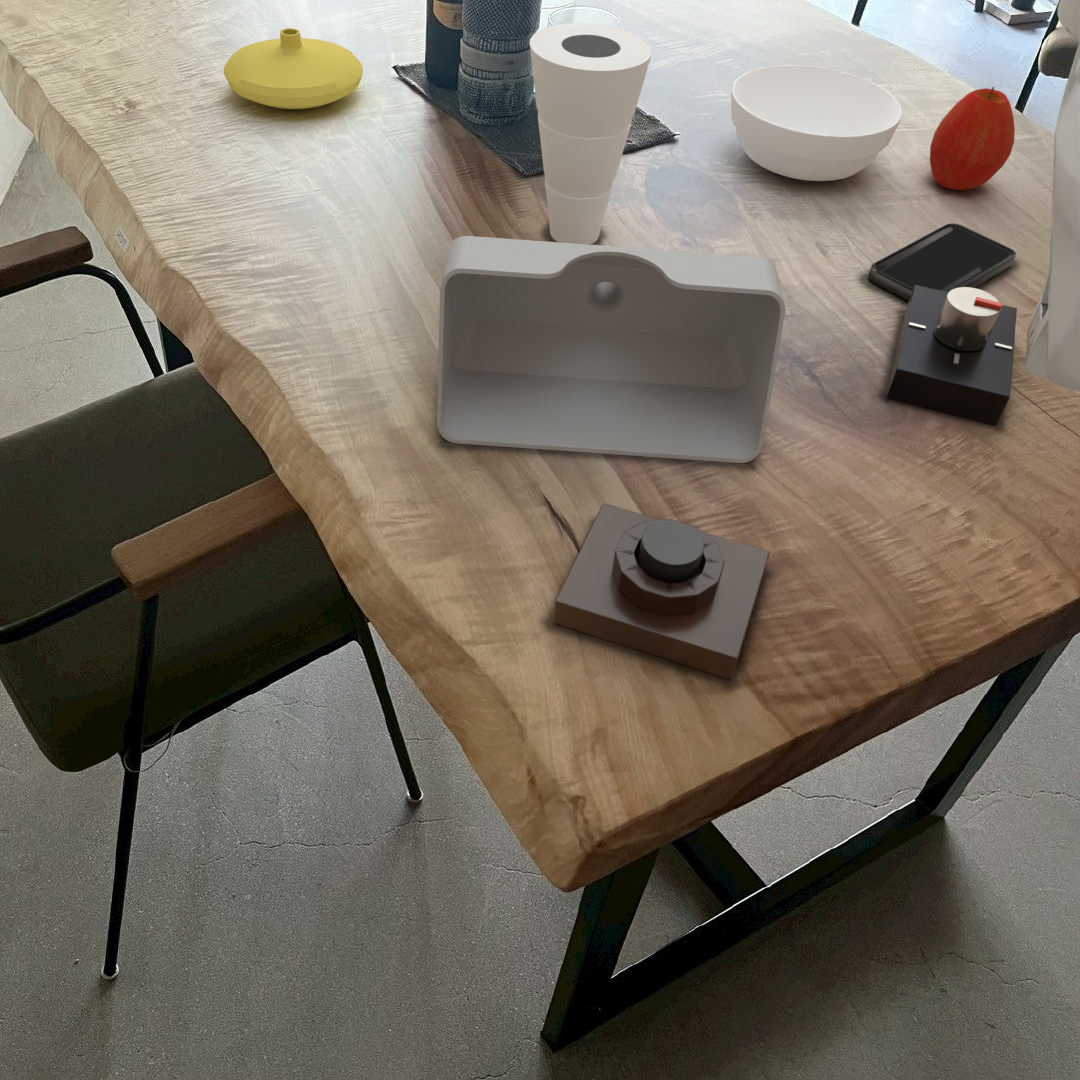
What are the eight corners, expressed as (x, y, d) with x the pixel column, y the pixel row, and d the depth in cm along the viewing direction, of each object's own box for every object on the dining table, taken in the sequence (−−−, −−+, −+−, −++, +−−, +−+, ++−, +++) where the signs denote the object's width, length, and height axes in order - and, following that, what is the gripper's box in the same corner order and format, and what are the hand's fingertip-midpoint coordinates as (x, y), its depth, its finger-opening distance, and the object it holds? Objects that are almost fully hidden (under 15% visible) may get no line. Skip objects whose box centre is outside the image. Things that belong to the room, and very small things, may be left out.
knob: (930, 342, 88) (945, 304, 86) (937, 316, 91) (951, 278, 88) (983, 357, 87) (1000, 318, 85) (988, 330, 90) (1005, 291, 87)
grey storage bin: (740, 344, 92) (770, 213, 83) (759, 464, 81) (797, 327, 72) (456, 324, 92) (456, 190, 83) (436, 442, 80) (433, 301, 72)
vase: (238, 65, 127) (228, 3, 122) (368, 69, 129) (364, 9, 124) (217, 122, 117) (206, 57, 111) (360, 126, 118) (356, 62, 113)
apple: (984, 210, 112) (1023, 111, 104) (909, 187, 115) (942, 89, 107) (1003, 181, 117) (1041, 84, 109) (931, 160, 120) (963, 64, 112)
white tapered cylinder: (649, 235, 104) (676, 49, 91) (580, 275, 98) (598, 81, 86) (569, 196, 109) (584, 14, 96) (498, 231, 103) (504, 42, 90)
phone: (866, 267, 100) (952, 220, 107) (863, 277, 101) (949, 230, 108) (936, 304, 96) (1021, 253, 103) (932, 314, 97) (1017, 263, 104)
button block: (763, 572, 73) (776, 532, 70) (731, 680, 66) (743, 640, 63) (599, 524, 75) (605, 483, 72) (552, 623, 68) (556, 582, 66)
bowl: (872, 135, 124) (890, 73, 118) (893, 211, 111) (915, 144, 106) (717, 120, 124) (729, 57, 119) (721, 193, 111) (734, 127, 106)
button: (706, 549, 69) (710, 530, 68) (691, 591, 66) (695, 572, 65) (648, 532, 70) (651, 513, 68) (630, 572, 67) (634, 553, 66)
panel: (904, 312, 97) (915, 282, 95) (1004, 336, 95) (1017, 306, 93) (886, 397, 88) (897, 367, 85) (996, 425, 86) (1010, 395, 84)
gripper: (1418, 142, 24) (1139, 554, 34) (1295, -86, 38) (1122, 255, 48) (1130, 88, 25) (942, 501, 35) (1112, -113, 39) (980, 224, 49)
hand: (1045, 357), depth 42 cm, fingers closed
